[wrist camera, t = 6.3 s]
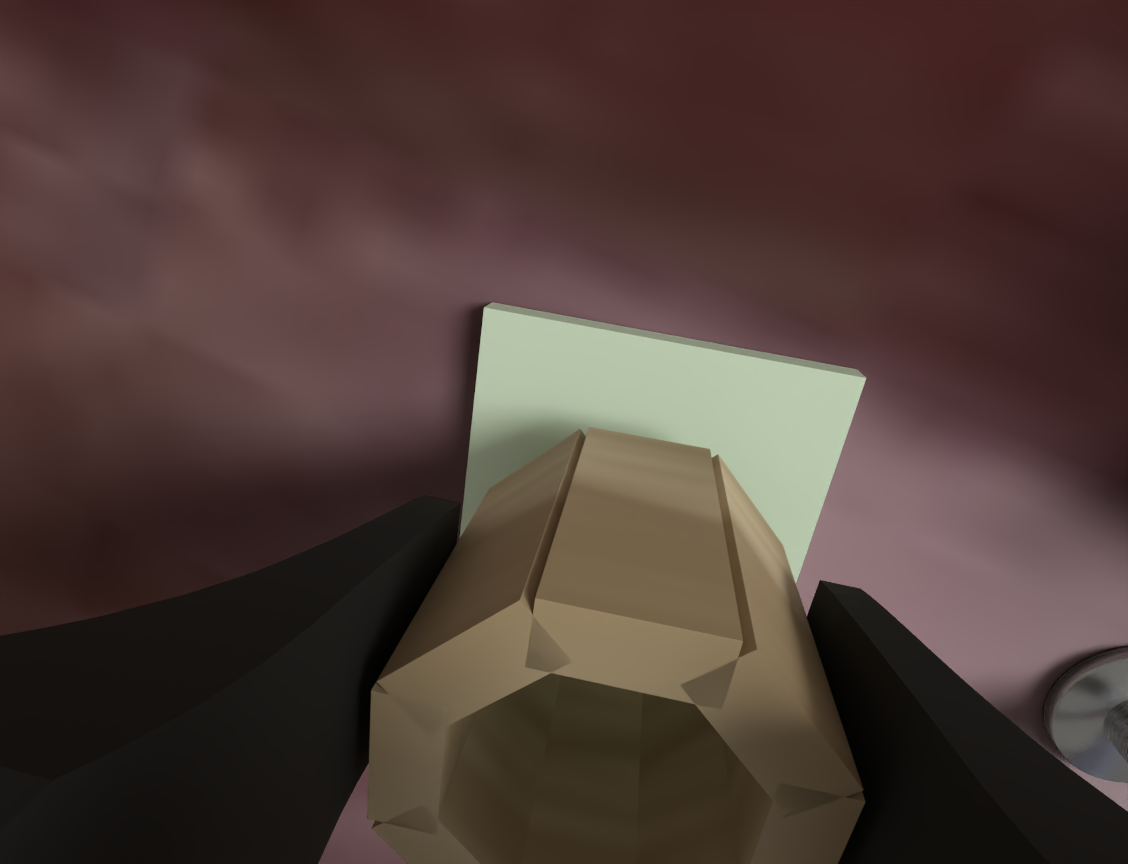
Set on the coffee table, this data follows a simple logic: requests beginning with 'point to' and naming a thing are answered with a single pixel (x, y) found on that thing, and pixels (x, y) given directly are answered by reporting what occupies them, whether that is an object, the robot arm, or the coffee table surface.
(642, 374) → the pad
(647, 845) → the maple ring
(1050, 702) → the grey piece
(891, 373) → the coffee table surface
